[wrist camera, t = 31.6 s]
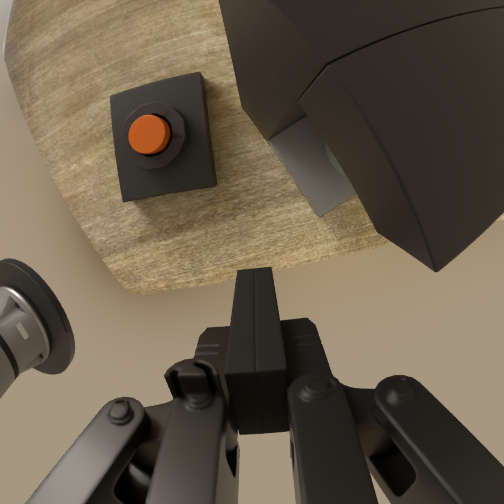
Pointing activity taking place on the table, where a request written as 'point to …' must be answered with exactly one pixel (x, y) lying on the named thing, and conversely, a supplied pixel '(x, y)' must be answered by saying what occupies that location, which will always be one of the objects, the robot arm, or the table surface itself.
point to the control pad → (179, 146)
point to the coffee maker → (382, 109)
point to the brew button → (149, 134)
